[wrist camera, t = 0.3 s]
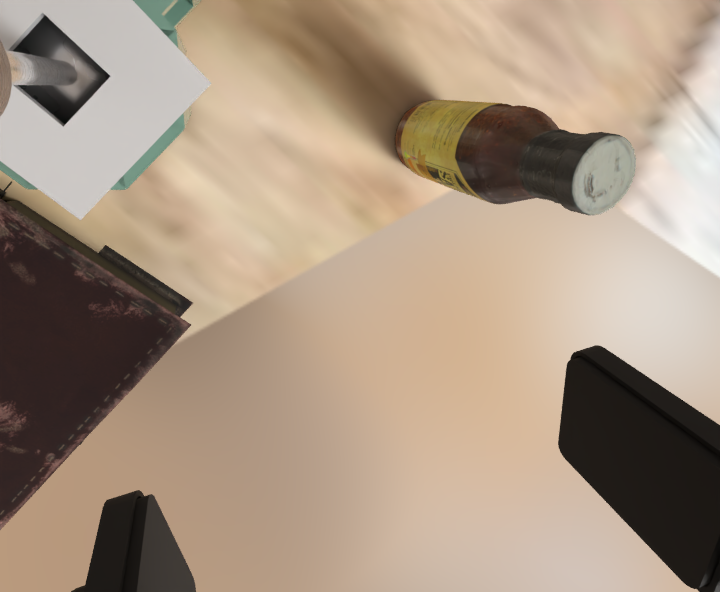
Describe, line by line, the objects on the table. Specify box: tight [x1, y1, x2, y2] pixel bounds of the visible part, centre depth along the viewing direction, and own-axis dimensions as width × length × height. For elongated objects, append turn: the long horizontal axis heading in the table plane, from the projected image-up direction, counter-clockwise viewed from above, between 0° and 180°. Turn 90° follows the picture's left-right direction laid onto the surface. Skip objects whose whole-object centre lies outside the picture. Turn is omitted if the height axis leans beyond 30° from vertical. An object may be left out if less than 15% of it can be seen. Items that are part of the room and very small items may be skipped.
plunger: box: [0, 15, 110, 124], centre depth 14 cm, size 7×7×15 cm
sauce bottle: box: [395, 100, 636, 215], centre depth 31 cm, size 6×6×20 cm
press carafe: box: [0, 0, 211, 220], centre depth 25 cm, size 10×13×14 cm
